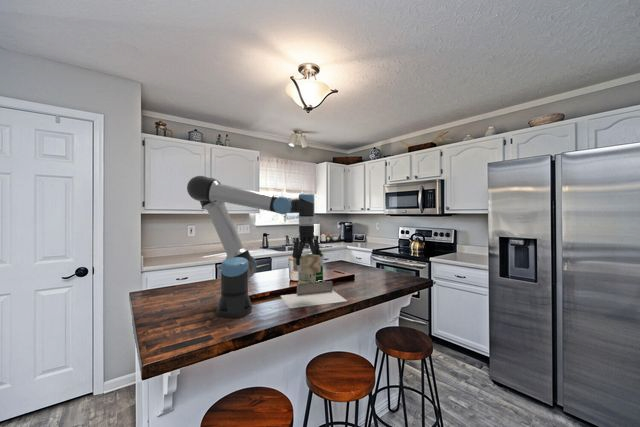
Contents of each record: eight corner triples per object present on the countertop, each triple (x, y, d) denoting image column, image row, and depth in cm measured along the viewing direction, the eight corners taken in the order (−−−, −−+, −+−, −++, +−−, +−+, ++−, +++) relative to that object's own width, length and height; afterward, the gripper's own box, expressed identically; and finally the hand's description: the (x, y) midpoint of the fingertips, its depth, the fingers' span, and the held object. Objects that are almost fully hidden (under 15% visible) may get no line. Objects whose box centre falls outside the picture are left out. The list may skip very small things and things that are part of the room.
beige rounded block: (307, 274, 130) (307, 257, 129) (293, 270, 139) (293, 253, 139) (320, 272, 135) (320, 255, 134) (306, 267, 144) (305, 252, 144)
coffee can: (299, 285, 165) (299, 262, 165) (316, 286, 164) (317, 263, 164) (296, 291, 155) (296, 266, 154) (314, 291, 154) (314, 266, 153)
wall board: (289, 309, 127) (289, 308, 127) (280, 296, 144) (280, 295, 144) (347, 302, 138) (347, 300, 138) (332, 291, 155) (332, 290, 155)
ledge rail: (297, 296, 145) (298, 283, 145) (296, 295, 147) (296, 282, 147) (332, 292, 153) (332, 280, 153) (330, 291, 155) (331, 279, 154)
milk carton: (314, 283, 170) (315, 251, 169) (305, 280, 176) (306, 249, 176) (325, 281, 175) (325, 250, 175) (316, 278, 182) (316, 248, 182)
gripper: (293, 226, 127) (293, 275, 127) (327, 224, 140) (327, 268, 140) (284, 225, 133) (284, 272, 133) (318, 223, 146) (318, 266, 146)
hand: (306, 270), depth 137 cm, fingers closed on beige rounded block, 8 cm apart
